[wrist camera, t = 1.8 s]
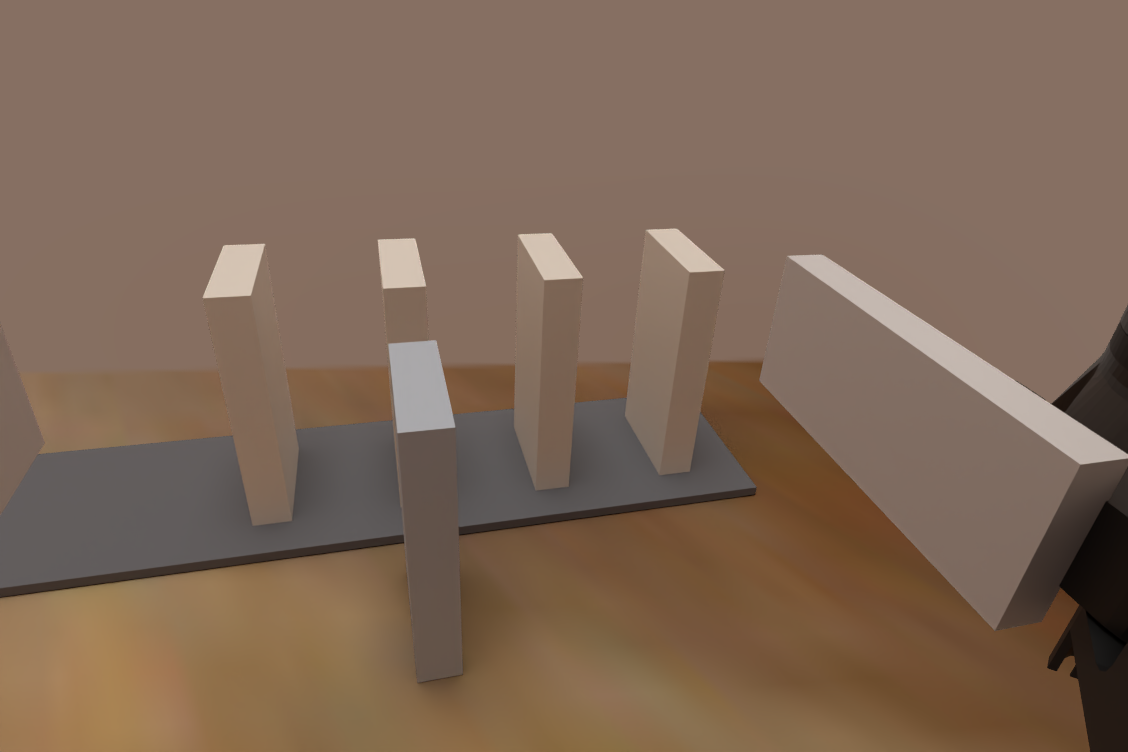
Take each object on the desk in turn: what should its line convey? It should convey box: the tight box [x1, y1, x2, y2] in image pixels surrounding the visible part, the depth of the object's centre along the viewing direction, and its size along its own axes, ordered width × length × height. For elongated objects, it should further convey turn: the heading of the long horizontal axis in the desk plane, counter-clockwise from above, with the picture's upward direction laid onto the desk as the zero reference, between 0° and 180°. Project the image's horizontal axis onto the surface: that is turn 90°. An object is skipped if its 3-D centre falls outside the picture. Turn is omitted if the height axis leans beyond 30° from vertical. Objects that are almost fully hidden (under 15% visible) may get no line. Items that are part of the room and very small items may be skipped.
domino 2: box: [378, 238, 429, 505], centre depth 36 cm, size 2×6×12 cm, turn 14°
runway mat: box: [0, 398, 757, 597], centre depth 39 cm, size 38×10×1 cm, turn 104°
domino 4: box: [625, 229, 725, 475], centre depth 40 cm, size 2×6×12 cm, turn 14°
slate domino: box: [388, 340, 463, 683], centre depth 28 cm, size 2×6×12 cm, turn 14°
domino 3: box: [514, 233, 583, 491], centre depth 38 cm, size 2×6×12 cm, turn 14°
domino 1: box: [203, 244, 299, 526], centre depth 35 cm, size 2×6×12 cm, turn 14°
